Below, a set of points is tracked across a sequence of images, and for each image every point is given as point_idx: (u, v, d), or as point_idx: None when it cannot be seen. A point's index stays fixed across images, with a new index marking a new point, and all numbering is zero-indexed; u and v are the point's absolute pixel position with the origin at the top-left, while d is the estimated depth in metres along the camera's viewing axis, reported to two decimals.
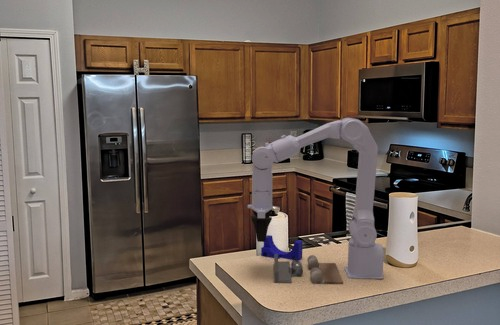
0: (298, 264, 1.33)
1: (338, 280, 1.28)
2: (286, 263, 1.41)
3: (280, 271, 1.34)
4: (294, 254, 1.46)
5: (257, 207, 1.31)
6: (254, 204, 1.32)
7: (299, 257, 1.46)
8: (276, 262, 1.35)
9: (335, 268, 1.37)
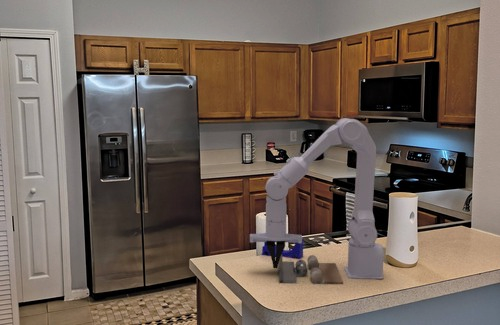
0: (303, 264, 1.33)
1: (338, 280, 1.28)
2: (290, 263, 1.40)
3: (285, 271, 1.34)
4: (296, 252, 1.47)
5: (266, 234, 1.35)
6: None
7: (300, 255, 1.48)
8: (281, 262, 1.35)
9: (335, 268, 1.37)
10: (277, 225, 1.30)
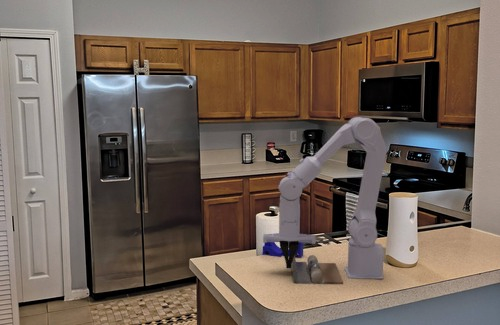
0: (316, 264, 1.33)
1: (338, 280, 1.28)
2: (303, 263, 1.40)
3: (298, 271, 1.34)
4: (296, 251, 1.48)
5: None
6: None
7: (301, 254, 1.49)
8: (294, 262, 1.34)
9: (335, 268, 1.37)
10: (291, 225, 1.30)
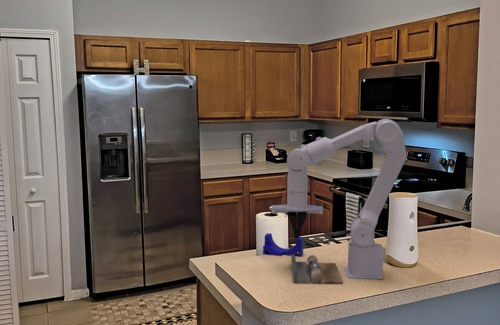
0: (316, 264, 1.33)
1: (338, 280, 1.28)
2: (303, 263, 1.40)
3: (298, 271, 1.34)
4: (297, 250, 1.49)
5: None
6: None
7: (301, 253, 1.50)
8: (294, 262, 1.34)
9: (335, 268, 1.37)
10: (299, 195, 1.33)
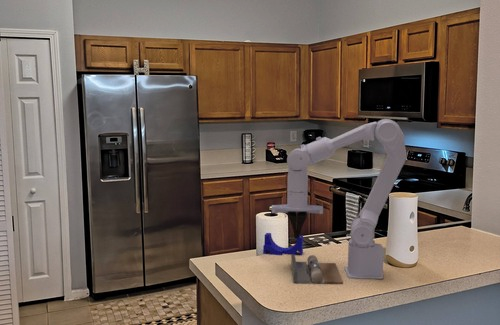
0: (316, 264, 1.33)
1: (338, 280, 1.28)
2: (303, 263, 1.40)
3: (298, 271, 1.34)
4: (297, 249, 1.51)
5: None
6: None
7: (302, 251, 1.51)
8: (294, 262, 1.34)
9: (335, 268, 1.37)
10: (299, 195, 1.33)
